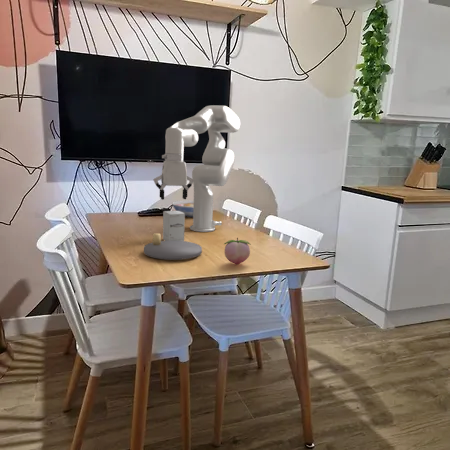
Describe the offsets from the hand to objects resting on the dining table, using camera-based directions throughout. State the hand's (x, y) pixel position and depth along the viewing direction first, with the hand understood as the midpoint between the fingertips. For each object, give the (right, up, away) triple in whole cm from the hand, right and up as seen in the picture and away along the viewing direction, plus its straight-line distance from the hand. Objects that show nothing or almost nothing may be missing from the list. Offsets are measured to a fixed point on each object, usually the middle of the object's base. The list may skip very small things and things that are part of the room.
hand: (173, 199), depth 171 cm
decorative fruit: (+26, -25, -26) cm, 45 cm away
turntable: (+2, -22, -16) cm, 27 cm away
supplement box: (-1, -18, +4) cm, 19 cm away
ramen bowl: (+2, -6, +62) cm, 62 cm away
